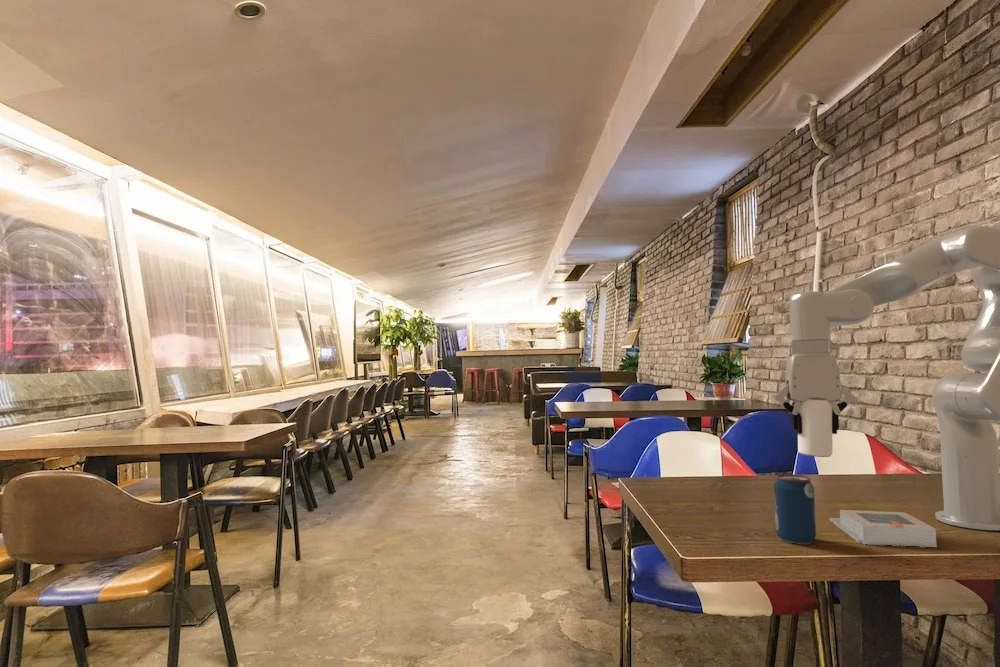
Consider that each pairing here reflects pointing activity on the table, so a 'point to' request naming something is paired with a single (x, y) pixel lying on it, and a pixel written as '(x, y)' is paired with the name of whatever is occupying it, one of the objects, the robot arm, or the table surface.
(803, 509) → the soda can
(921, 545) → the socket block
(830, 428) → the can
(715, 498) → the table surface
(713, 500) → the table surface
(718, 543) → the table surface
